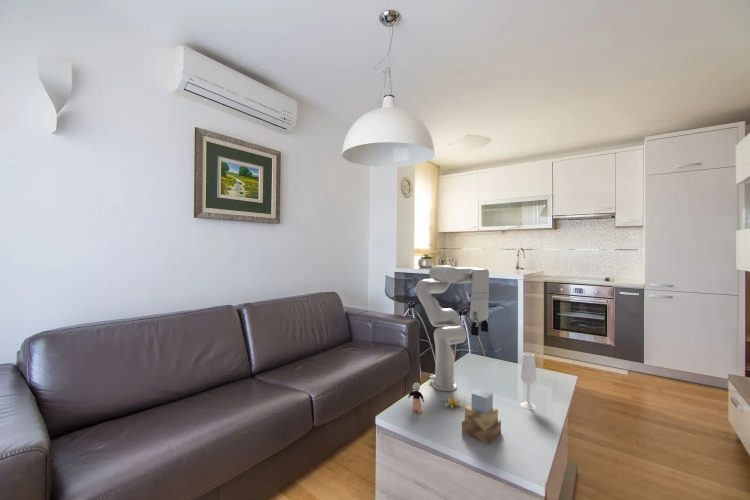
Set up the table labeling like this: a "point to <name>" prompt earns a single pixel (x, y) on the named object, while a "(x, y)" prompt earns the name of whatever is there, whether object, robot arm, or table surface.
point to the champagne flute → (528, 376)
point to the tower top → (481, 417)
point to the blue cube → (482, 401)
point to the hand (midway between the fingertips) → (479, 333)
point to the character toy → (452, 402)
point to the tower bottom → (481, 432)
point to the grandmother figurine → (416, 398)
